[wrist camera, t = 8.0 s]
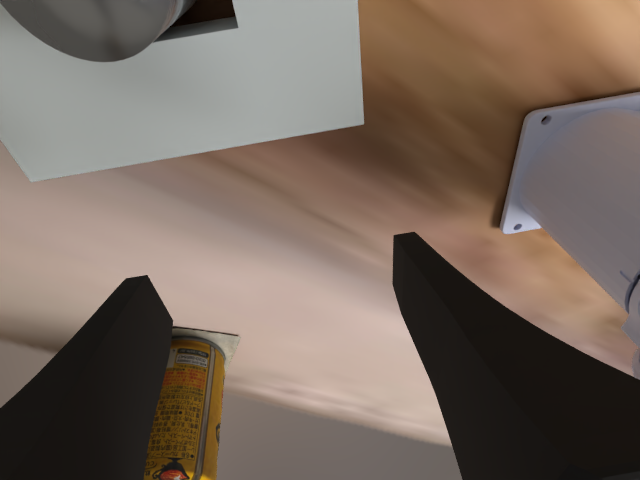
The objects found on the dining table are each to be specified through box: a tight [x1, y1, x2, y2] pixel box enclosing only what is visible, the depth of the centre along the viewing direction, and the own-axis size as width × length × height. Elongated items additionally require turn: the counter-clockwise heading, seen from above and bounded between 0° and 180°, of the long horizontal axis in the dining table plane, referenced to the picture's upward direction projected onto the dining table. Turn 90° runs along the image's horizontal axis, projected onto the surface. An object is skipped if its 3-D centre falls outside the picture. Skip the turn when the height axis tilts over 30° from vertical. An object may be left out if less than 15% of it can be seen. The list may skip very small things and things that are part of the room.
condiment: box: [144, 328, 241, 480], centre depth 24 cm, size 7×8×12 cm
